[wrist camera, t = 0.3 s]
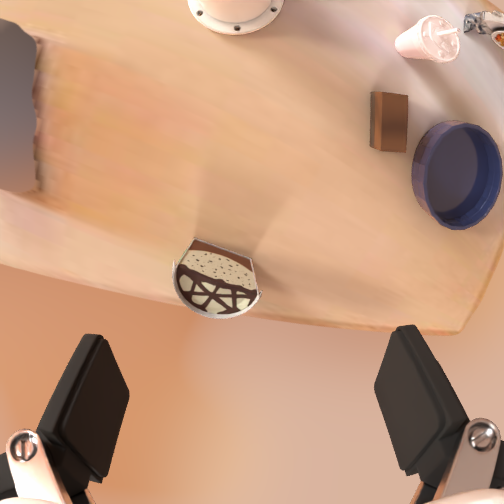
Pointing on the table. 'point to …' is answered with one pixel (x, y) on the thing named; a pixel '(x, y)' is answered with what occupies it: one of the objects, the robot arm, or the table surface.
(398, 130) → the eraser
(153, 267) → the table surface
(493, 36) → the meal
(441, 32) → the smoothie
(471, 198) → the bowl
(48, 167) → the table surface
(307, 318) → the table surface
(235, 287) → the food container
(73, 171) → the table surface
